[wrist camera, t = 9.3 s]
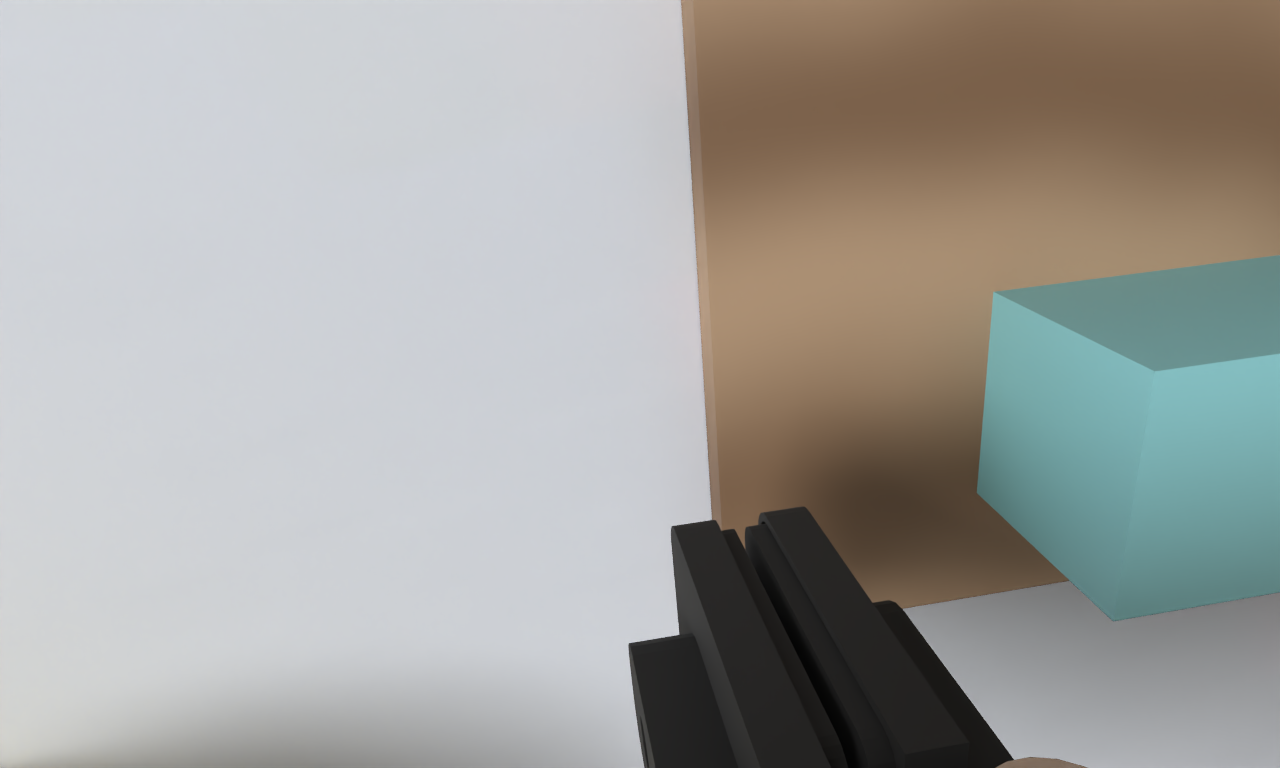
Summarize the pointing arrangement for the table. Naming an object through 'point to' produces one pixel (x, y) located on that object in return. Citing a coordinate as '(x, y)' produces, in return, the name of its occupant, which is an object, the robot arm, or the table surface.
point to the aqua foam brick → (1141, 432)
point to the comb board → (941, 235)
